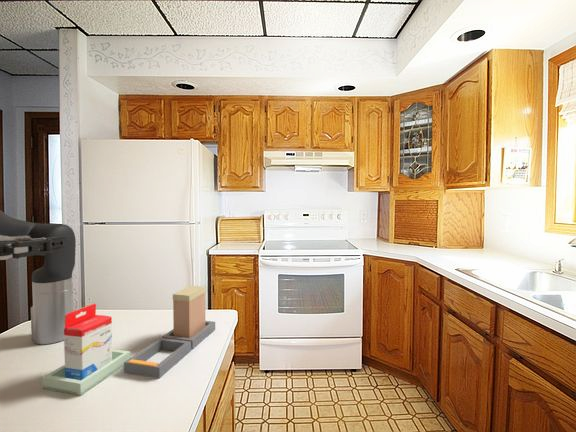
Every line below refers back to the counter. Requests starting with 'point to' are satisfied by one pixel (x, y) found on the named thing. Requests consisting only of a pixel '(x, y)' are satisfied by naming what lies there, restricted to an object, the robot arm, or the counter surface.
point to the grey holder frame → (167, 342)
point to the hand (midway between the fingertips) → (46, 241)
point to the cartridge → (189, 311)
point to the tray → (79, 387)
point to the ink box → (86, 342)
